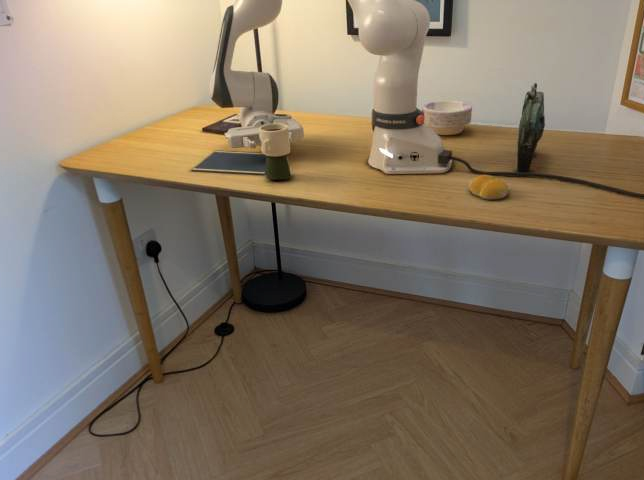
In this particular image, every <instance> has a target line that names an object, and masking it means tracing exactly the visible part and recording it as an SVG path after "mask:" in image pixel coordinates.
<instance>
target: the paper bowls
mask: <svg viewBox="0 0 644 480" xmlns="http://www.w3.org/2000/svg"><path fill="white" fill-rule="evenodd" d="M422 110H423V111H424V117H425V120H424V124H425V125H426V126H427V127H428V128H430V129H431V130H432V131H433V132H435V133H436V134H437V135H439V136H453V135H458V134H460V133H462V132H463V130H464V129H465V127H466V126H468V125H470V124H471V123H472V113H473V106H472V105H471V103H468V102H466V101H462V100H461V101H459V100H433V101H430V102H427V103H424V104H423V105H422V106H421V111H422Z"/></svg>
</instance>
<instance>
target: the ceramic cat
mask: <svg viewBox="0 0 644 480" xmlns="http://www.w3.org/2000/svg"><path fill="white" fill-rule="evenodd" d="M537 88H538V84H537V82H534V83H533V85H531V90H530V91H526V93H525V96H524V100H523V105H522V110H521V117H520V119H519V125H518V137H517V153H516V154H517V155H516V156H517V157H516V172H523V173H530V169H531V166H532V163H533V159H534V156H535V152H536V149H537V147H538V143H539V141H541V139H542V137H543V134H544V131H545V130H544V129H545V127H546V118H545V93H544V91H537Z"/></svg>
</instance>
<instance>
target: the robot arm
mask: <svg viewBox="0 0 644 480" xmlns="http://www.w3.org/2000/svg"><path fill="white" fill-rule="evenodd" d="M347 2H348V4H349V6H350V8H351V10H352V12H353V13H352V14H353V15H354V17H355V20H356V22H357V25H358V37H359V41H360V44H361V46H362V47H363V48H364V49H365V51H366V52H368V53H370V54H372V55H375V56H379V60H378V64H377V67H376V68H377V69H376V71H375V73H374V75H373V108H372V110H371V129H372V141H371V148H370V152H369V155H368V156H369V158H368V160H367V163H368V164H369V166H371V167H373V168H374V169H377V170H380V171H381V172H383V173H384V174H386V175H415V174H418V175H419V174H420V175H421V174H424V175H425V174H444V173H446V172H448V171H450V169H451V168H452V166H453V161H456V162H459V163H462V164H463V165H465V166H466V168H467V169H468V170H469V171H470V172H472V173H474V174H477V175H478V174H479V175H490V176H519V177H520V176H523V177H541V178H547V179H548V178H550V179H557V180H562V181H570V182H573V183H580V184H584V185H588V186H592V187H596V188H600V189H604V190H607V191H608V190H609V191H613V192H616V193H619V194H624V195H627V196H631V197H638V198H644V193H640V192H634V191H631V190H625V189H621V188H619V187H614V186H611V185H610V186H609V185H605V184H601V183H598V182H593V181H588V180H585V179H580V178H576V177H570V176H563V175H559V174H558V175H557V174H551V173H550V174H549V173H539V172H529V173H523V172H517V171H481V170H477V169H476V168H473V167H472V166H471V164H470V163H469V162H468V161H466V160H465V159H462V158H459V157H456V156H453V150H449V149H445V146H444V141H443V139H442V137H441V135H439V134H436V133H435V132H433V131H432V130H431V129H430V128H428V126H427V125H425V124H424V120H425V117H424V111H423V110H422V109H419V108H418V85H419V84H418V82H419V73H420V72H419V71H420V67H421V62H422V58H423V52H424V49H425V41H426V37H427V34H428V32H429V30H430V27H431V17H430V13H429V11H428V9H427V8H426V6H425V5H424V4H422V3H421V2H419V1H417V0H347ZM282 6H283V0H234V1H233V4H231V5H229V6H228V7H226V9H225V12H224V15H223V19H222V23H221V26H220V27H221V28H220V33H219V38H218V44H217V48H216V54H215V60H214V66H213V70H212V75H211V77H210V80H209V89H208V90H209V91H208V92H209V96H210V99H211V100H212V102H213V103H214V104H216V105H217V106H218V107H219V108H221V109H230V108H231V109H233V108H240V111H239V114H240V123H241V126H242V127H237V128H231V129H229V130H228V132H227V133H225V134H223V135H224V138H225V139H227V142H228V146H229V148H230V149H242V148H249V149H256V148H257V146H258V147H261V140H260V136H259V127H260V126H263V125H266V124H285V125H287V126H288V130H289V141H290V145H291V144H292V143H293V142H299V141H301V142H302V141H303V140H304V139H305V132H304V127H303V125H302V124H301V123H300V121H298V120H296V119H294V118H292V115H291V114H288V113H287V114H285V113H276V111H277V110H278V106H279V98H280V96H279V88H278V84H277V82H276V81H275V79H274V77H273V76H272V75H271V74H270V73H269V72H262V71H245V70H244V71H243V70H233V69H232V63H233V57H234V53H235V47H236V43H237V41H238V40H239V38H240V37H241V36H242V35H244V34H246V33H248V32H250V31H253V30H256V29H257V30H258V29H260V28H263V27H266V26H268V25H270V24H272V23H273V22H274V21H275V20H276V19H277V18H278V17H279V15H280V14H281V10H282ZM640 356H644V343H643V345H642V348H641V352H640Z"/></svg>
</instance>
